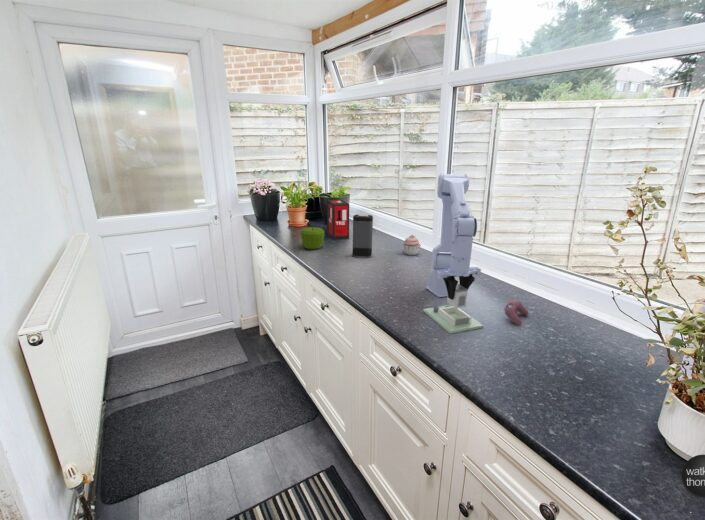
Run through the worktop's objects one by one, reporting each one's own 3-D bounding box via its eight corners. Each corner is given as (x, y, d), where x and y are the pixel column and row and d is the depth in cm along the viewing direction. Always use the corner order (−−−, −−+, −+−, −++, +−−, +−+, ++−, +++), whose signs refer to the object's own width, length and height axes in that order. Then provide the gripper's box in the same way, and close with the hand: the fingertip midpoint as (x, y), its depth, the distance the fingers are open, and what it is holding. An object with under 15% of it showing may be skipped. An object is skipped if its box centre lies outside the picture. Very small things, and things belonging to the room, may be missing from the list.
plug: (446, 301, 120) (448, 284, 118) (456, 300, 121) (458, 283, 119) (456, 309, 115) (459, 291, 113) (466, 307, 116) (468, 290, 114)
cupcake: (400, 255, 185) (401, 236, 182) (402, 250, 194) (403, 231, 191) (419, 257, 183) (421, 237, 180) (421, 252, 192) (422, 233, 189)
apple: (323, 251, 190) (323, 230, 186) (299, 251, 190) (298, 229, 186) (325, 244, 201) (325, 224, 198) (303, 244, 202) (302, 224, 198)
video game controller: (516, 316, 127) (509, 297, 127) (530, 314, 124) (523, 294, 124) (507, 327, 120) (499, 306, 120) (521, 325, 117) (514, 304, 117)
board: (423, 311, 126) (423, 303, 125) (453, 306, 130) (454, 299, 129) (449, 333, 112) (450, 325, 111) (483, 327, 116) (484, 319, 115)
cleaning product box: (348, 238, 215) (349, 204, 208) (333, 239, 212) (333, 204, 206) (341, 232, 230) (341, 199, 223) (327, 232, 227) (326, 200, 221)
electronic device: (371, 254, 186) (373, 214, 180) (371, 258, 181) (372, 217, 175) (353, 253, 187) (353, 214, 181) (352, 257, 182) (352, 216, 175)
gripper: (447, 262, 107) (443, 305, 112) (489, 258, 112) (483, 299, 116) (434, 255, 114) (431, 296, 118) (474, 251, 118) (469, 291, 123)
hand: (456, 297), depth 118 cm, fingers closed on plug, 3 cm apart
